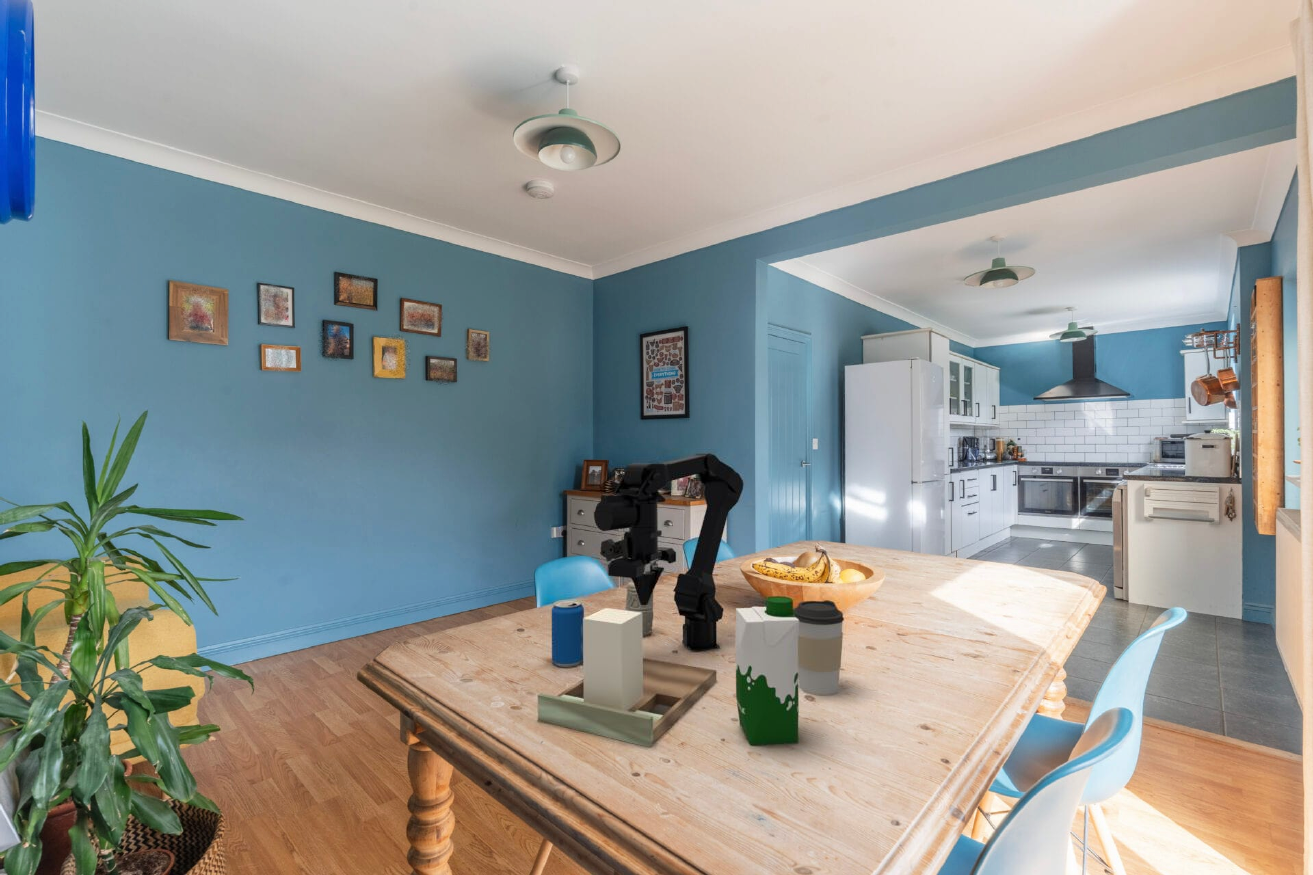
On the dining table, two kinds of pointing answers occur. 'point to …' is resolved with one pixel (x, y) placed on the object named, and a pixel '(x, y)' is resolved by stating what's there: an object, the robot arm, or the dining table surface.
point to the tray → (647, 720)
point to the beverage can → (567, 633)
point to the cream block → (613, 658)
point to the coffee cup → (819, 646)
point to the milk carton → (768, 671)
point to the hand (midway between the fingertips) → (644, 604)
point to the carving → (640, 608)
